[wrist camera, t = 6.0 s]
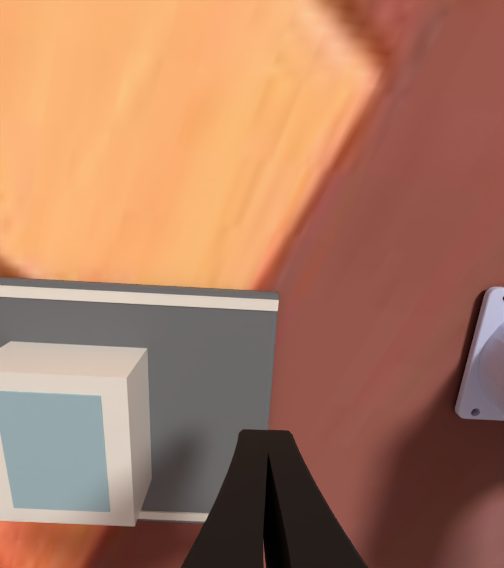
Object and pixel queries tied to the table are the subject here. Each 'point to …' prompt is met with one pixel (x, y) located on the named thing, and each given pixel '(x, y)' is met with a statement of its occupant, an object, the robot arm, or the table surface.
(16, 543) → the table surface
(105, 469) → the white rectangular block
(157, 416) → the mat
